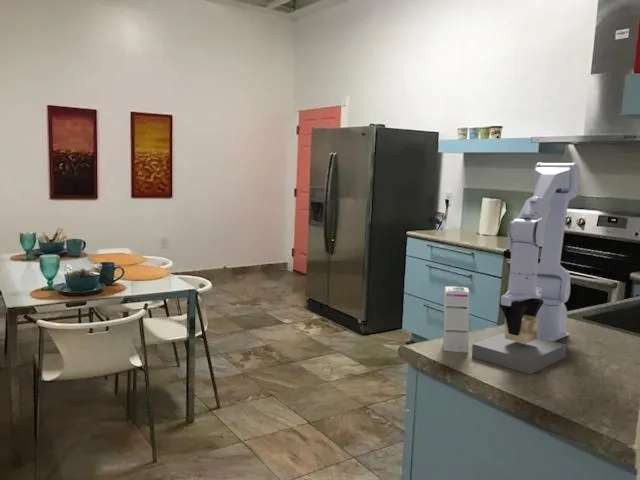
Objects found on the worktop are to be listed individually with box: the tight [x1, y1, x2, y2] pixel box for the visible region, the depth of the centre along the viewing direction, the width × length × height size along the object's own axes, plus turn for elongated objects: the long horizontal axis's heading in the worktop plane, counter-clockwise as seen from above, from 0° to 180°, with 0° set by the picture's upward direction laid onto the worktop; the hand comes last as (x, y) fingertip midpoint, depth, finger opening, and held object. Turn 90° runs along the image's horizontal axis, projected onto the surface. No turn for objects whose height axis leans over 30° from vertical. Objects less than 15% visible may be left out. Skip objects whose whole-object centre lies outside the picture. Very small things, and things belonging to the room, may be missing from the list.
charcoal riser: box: [471, 332, 567, 375], centre depth 125 cm, size 16×14×3 cm
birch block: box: [504, 315, 538, 344], centre depth 125 cm, size 5×5×5 cm
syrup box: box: [442, 285, 470, 354], centre depth 130 cm, size 6×6×14 cm
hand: (520, 331), depth 125 cm, fingers closed on birch block, 5 cm apart
